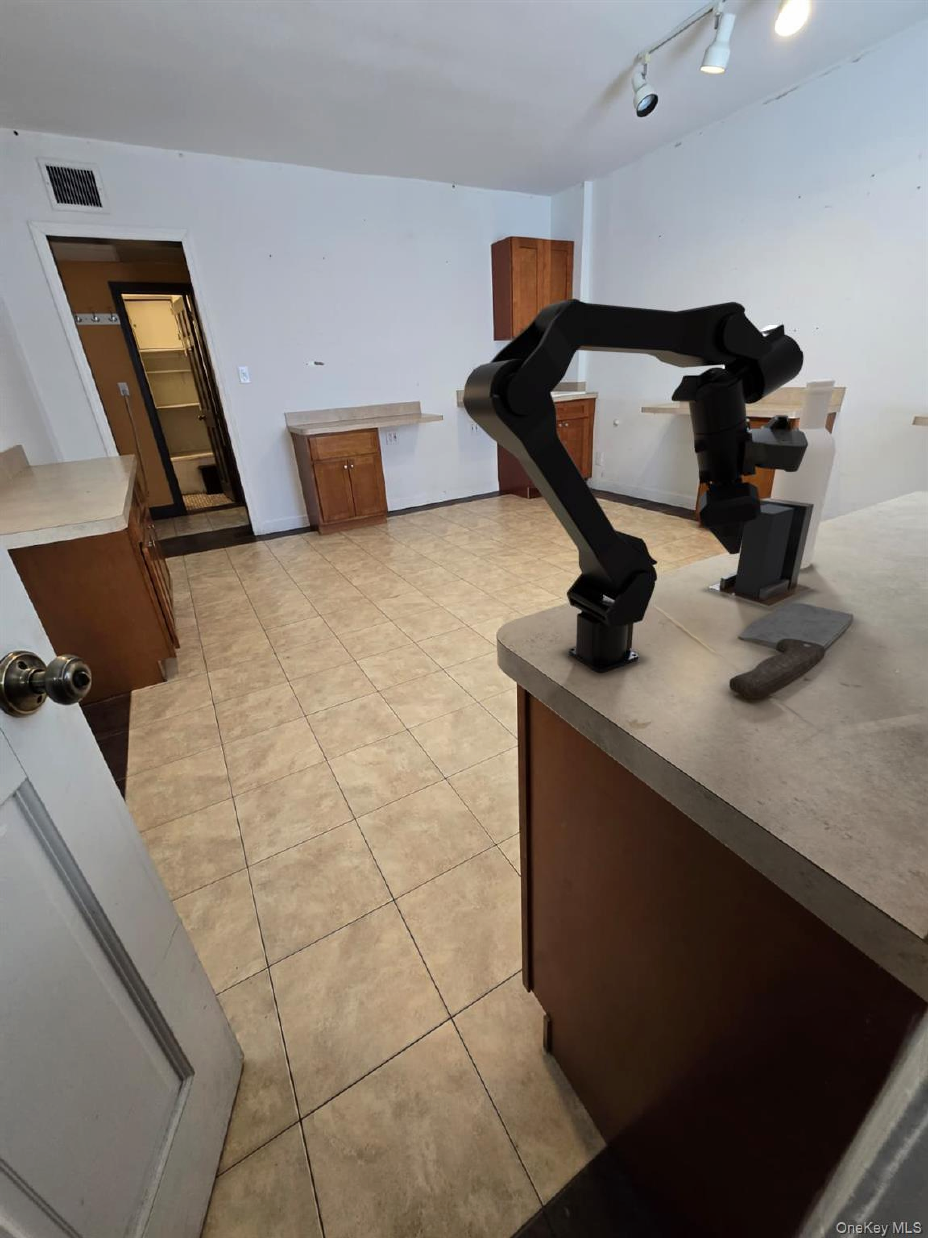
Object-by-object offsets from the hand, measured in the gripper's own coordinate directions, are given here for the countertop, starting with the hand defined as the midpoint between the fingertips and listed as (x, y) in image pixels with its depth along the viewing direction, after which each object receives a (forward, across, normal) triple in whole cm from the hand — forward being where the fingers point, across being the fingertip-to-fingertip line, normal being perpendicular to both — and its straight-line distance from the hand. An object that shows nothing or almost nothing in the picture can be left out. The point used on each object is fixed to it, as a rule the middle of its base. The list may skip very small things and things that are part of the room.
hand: (732, 534), depth 69 cm
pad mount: (+17, +9, -3) cm, 19 cm away
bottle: (+22, +21, -7) cm, 31 cm away
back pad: (+15, +6, -2) cm, 17 cm away
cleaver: (+11, -11, -4) cm, 16 cm away
